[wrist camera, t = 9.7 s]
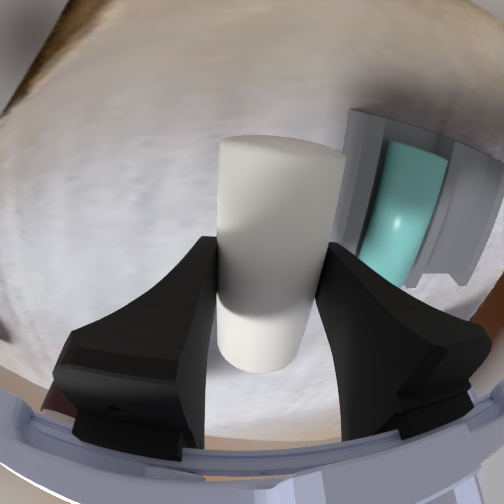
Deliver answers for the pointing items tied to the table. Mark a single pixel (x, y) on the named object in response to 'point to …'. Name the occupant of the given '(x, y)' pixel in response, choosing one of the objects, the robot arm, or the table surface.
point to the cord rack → (448, 202)
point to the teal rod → (402, 210)
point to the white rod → (271, 244)
